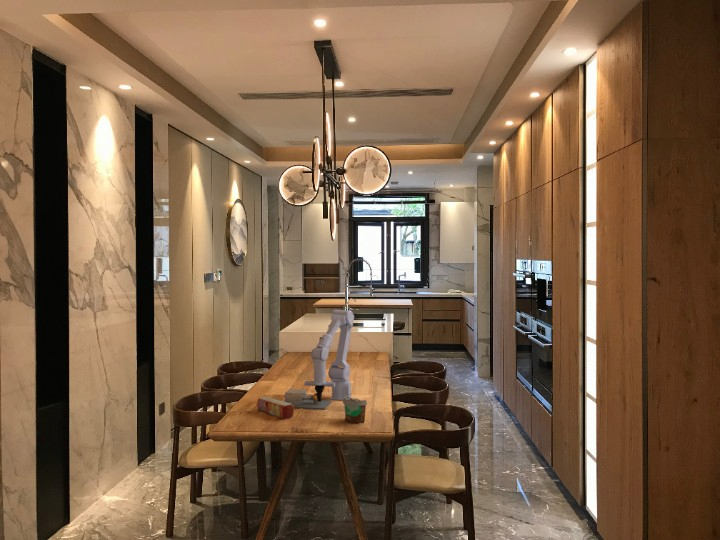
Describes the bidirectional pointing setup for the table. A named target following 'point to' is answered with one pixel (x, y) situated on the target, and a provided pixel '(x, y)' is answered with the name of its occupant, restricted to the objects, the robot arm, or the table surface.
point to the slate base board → (314, 404)
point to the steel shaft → (311, 397)
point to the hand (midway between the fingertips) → (319, 401)
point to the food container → (354, 410)
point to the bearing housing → (295, 396)
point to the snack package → (275, 407)
